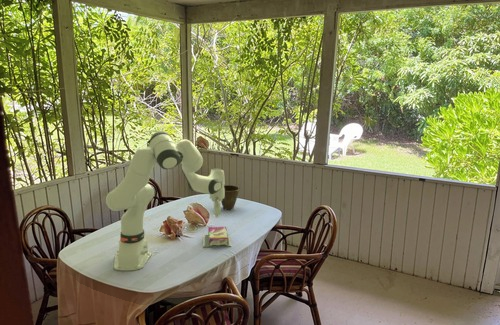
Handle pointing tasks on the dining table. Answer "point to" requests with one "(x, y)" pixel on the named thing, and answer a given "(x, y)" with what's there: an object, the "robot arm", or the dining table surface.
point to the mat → (206, 244)
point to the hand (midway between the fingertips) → (216, 216)
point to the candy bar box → (217, 236)
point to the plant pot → (229, 197)
